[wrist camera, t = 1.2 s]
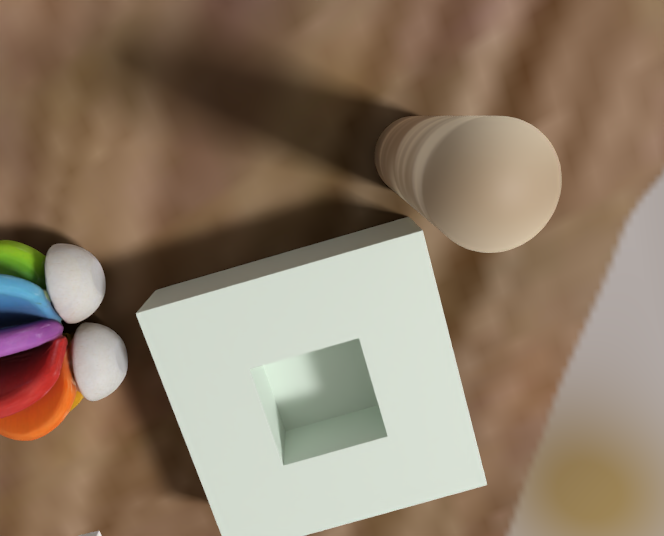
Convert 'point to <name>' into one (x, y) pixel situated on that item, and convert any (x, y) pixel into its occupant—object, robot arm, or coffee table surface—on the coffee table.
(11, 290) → the rainbow wheeled toy
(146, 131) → the coffee table surface
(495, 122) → the peg
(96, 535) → the robot arm
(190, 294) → the socket block
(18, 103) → the coffee table surface
